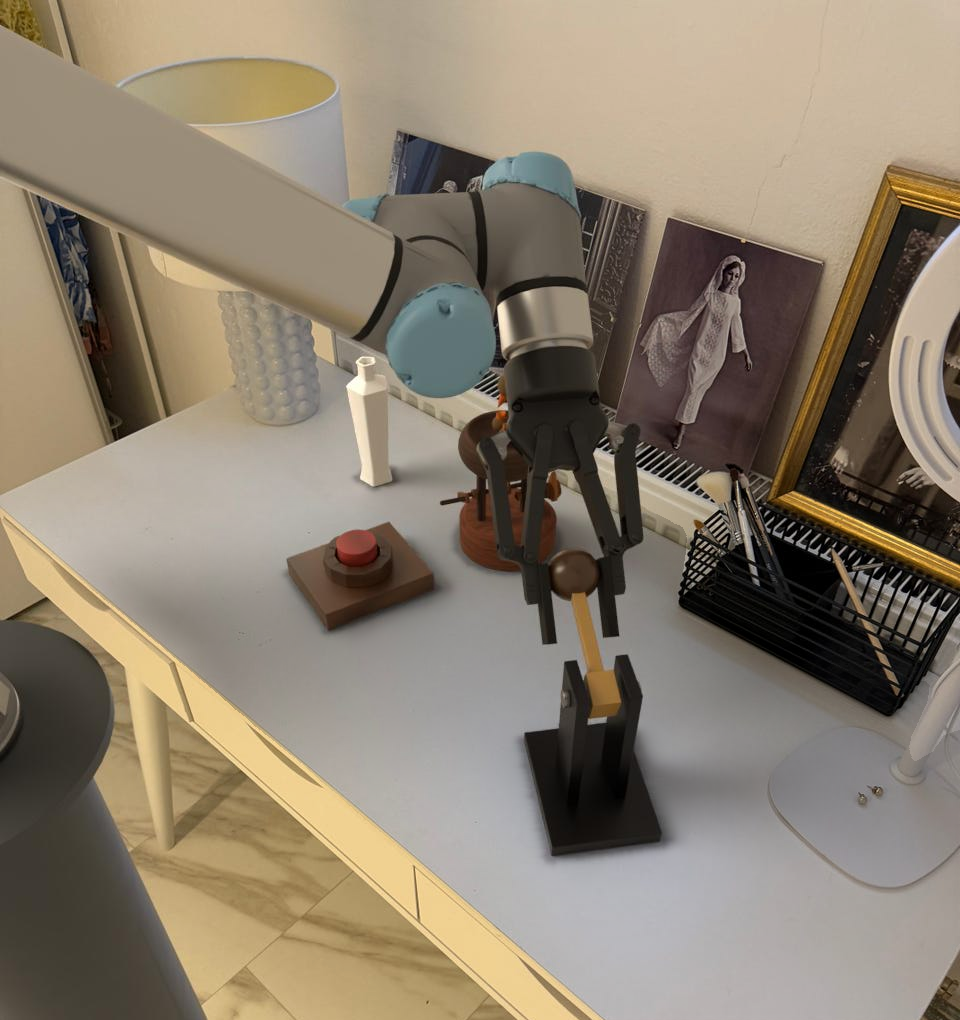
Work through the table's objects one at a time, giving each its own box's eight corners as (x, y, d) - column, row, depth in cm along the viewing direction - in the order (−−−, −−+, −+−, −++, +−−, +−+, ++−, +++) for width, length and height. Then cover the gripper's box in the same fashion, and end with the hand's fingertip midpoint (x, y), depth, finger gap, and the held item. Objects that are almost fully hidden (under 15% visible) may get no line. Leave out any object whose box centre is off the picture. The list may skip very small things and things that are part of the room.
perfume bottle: (405, 475, 114) (396, 360, 103) (377, 491, 112) (366, 375, 101) (379, 460, 116) (368, 345, 106) (351, 476, 114) (337, 360, 104)
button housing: (328, 630, 96) (323, 601, 93) (288, 574, 102) (283, 544, 99) (434, 589, 100) (432, 559, 97) (390, 537, 106) (387, 507, 103)
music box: (535, 494, 111) (553, 340, 96) (584, 554, 105) (612, 400, 90) (415, 531, 106) (414, 374, 91) (459, 597, 100) (466, 440, 85)
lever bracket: (523, 740, 86) (528, 629, 76) (622, 728, 86) (639, 617, 77) (551, 856, 77) (561, 747, 67) (660, 841, 78) (685, 732, 68)
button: (348, 572, 96) (346, 559, 95) (331, 550, 99) (329, 537, 97) (384, 559, 98) (382, 545, 96) (366, 538, 100) (365, 524, 99)
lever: (539, 570, 81) (544, 539, 78) (590, 564, 82) (597, 534, 78) (572, 726, 74) (580, 701, 71) (628, 719, 75) (638, 694, 71)
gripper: (639, 361, 83) (670, 629, 83) (439, 378, 81) (470, 652, 82) (665, 333, 76) (698, 627, 76) (445, 351, 74) (479, 653, 74)
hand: (580, 640), depth 79 cm, fingers closed on lever, 4 cm apart
